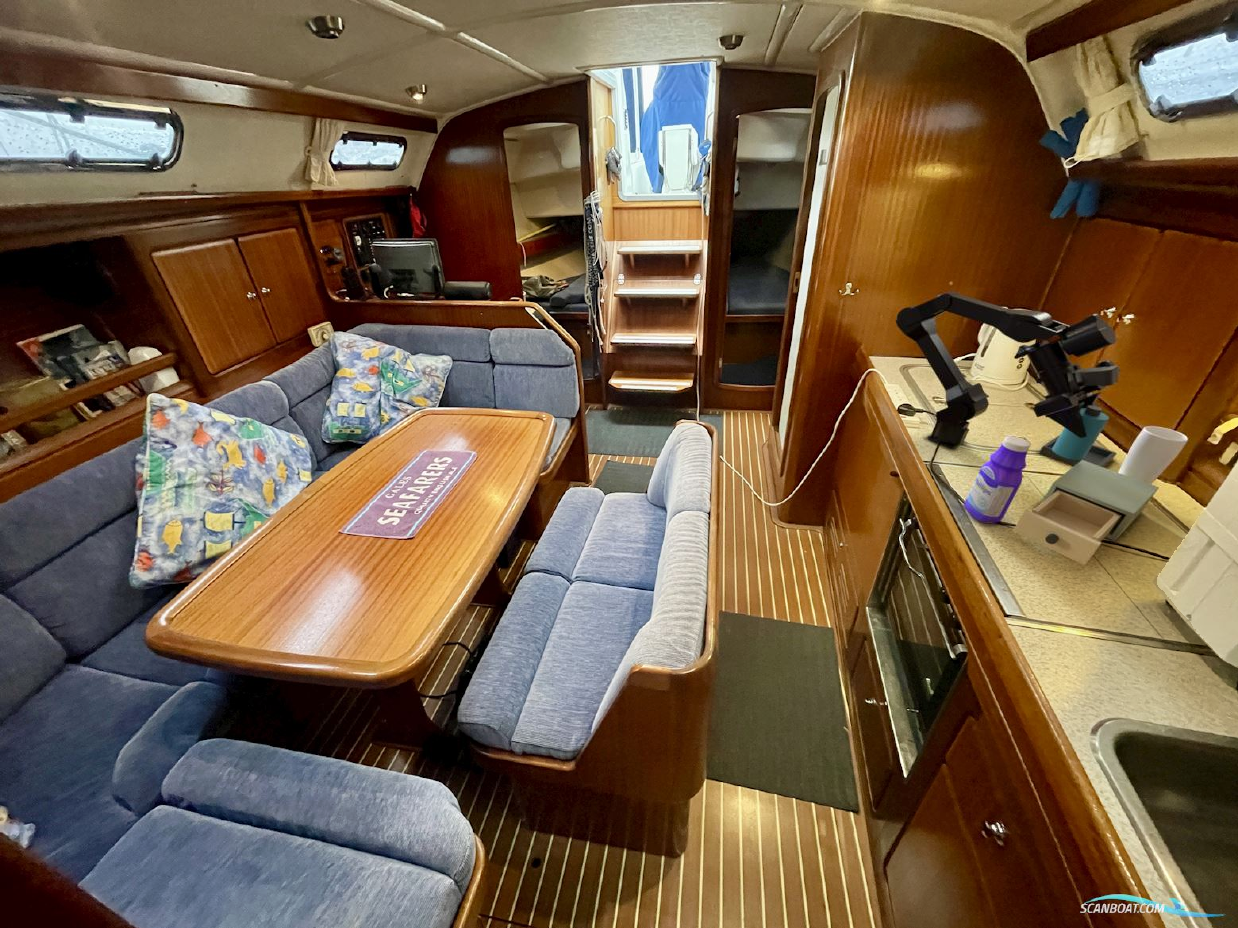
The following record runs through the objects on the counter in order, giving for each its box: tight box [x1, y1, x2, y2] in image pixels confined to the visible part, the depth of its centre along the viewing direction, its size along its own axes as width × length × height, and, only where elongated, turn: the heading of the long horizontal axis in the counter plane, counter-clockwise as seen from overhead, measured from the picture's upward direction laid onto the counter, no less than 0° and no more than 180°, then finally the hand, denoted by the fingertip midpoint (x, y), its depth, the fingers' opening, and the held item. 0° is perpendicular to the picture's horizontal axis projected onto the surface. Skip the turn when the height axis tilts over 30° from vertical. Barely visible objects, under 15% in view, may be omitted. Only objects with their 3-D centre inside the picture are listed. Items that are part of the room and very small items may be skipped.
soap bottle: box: [1052, 405, 1110, 460], centre depth 102 cm, size 6×6×11 cm
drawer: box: [1012, 490, 1121, 566], centre depth 92 cm, size 16×11×5 cm
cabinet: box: [1041, 460, 1160, 541], centre depth 99 cm, size 16×13×7 cm
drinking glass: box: [1117, 425, 1189, 485], centre depth 103 cm, size 7×7×15 cm
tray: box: [1038, 434, 1118, 468], centre depth 119 cm, size 11×11×2 cm
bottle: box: [964, 435, 1032, 524], centre depth 95 cm, size 7×6×17 cm
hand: (1089, 433), depth 101 cm, fingers closed on soap bottle, 5 cm apart
